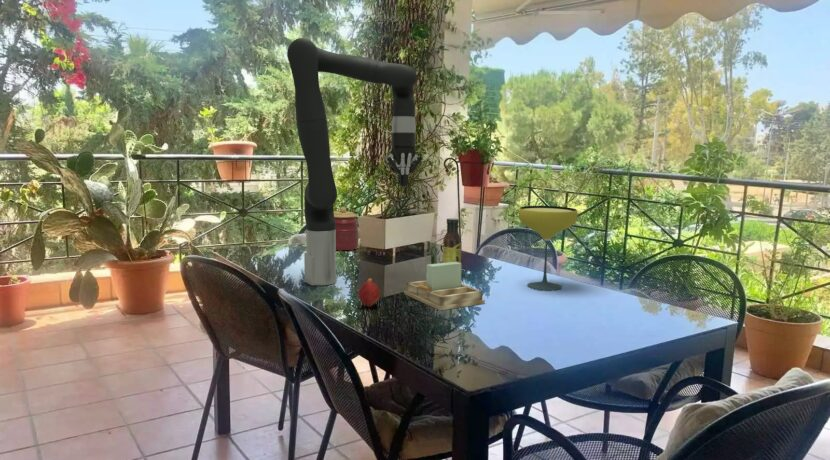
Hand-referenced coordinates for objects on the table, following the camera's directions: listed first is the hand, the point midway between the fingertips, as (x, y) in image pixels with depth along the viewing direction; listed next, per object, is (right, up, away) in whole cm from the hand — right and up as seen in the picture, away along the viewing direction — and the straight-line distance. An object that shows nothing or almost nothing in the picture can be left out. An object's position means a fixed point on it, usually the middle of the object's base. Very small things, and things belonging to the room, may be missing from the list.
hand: (403, 186), depth 196 cm
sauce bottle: (+16, -30, +12) cm, 36 cm away
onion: (-9, -35, -27) cm, 45 cm away
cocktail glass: (+45, -32, 0) cm, 55 cm away
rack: (+12, -34, -17) cm, 40 cm away
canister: (-26, -22, +63) cm, 72 cm away
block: (+12, -33, -17) cm, 39 cm away
